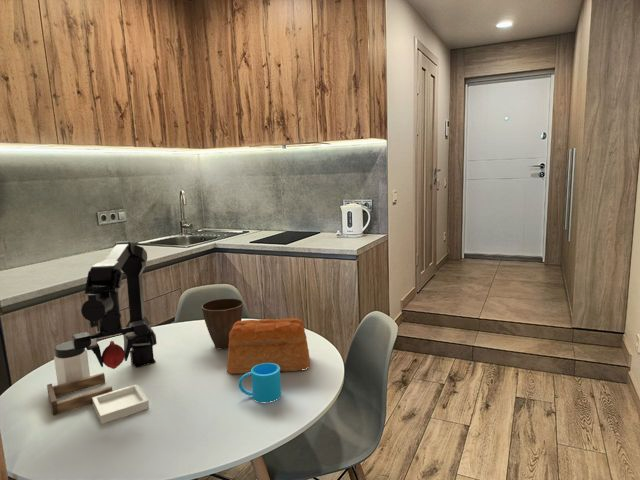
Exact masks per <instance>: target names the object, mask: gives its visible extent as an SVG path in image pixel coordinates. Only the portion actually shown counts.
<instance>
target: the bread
mask: <svg viewBox="0 0 640 480" xmlns="http://www.w3.org/2000/svg"><path fill="white" fill-rule="evenodd" d="M305 330H306V329H305V325H304V323H303V320H302V319H299V318H297V317H295V318H280V319H279V318H277V319H275V318H273V319H271V318H270V319H269V318H262V319H246V320H241V321H237V322H236V323H234V325H233V327H232V330H231V331H230V333H229V349H228V353H227V366H226V372H227V371H228V372H229V373H228V372H227V373H228V374H246V373H249V372H251V369H252V368H253V367H254V366H256V365H258V364H262V363H274V364H277V365H278V366H279V367H280V371H283V372H298V371H297V370H302V369H306V368H307V367H309V366H310V350H309V346H308V341H307V334H306V332H305ZM309 368H310V367H309Z"/></svg>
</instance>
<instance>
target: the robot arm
mask: <svg viewBox="0 0 640 480" xmlns="http://www.w3.org/2000/svg"><path fill="white" fill-rule="evenodd" d="M147 260H148V252H147V251H146V249H144V247H143V246H140V245H137V244H136V243H134V242H133V241H129V240H128V241H124V240H123V241H117V242H115V243H114V246H113V248H112V250H111V251H110V252H109V254H108V255H107V256H106V257H105V259H103V260H102V261H99V262H96V263H95V264H93V265H92V266H91V267H90V269H89V271H88V273H87V277H86V283H85V290H84V294H85V295H87V298H88V299H87V300H86V301H85V302H84V303H83V304H82V306H81V310H80V312H81V314H82V317H83V318H84V319H85V320H87V321H88V324H89V329H91V328H92V329H93V328H96V331H97V333H92V334H90V333H89V332H88V331H84V332H79V333H74V334H72V335H71V341H72V345H73V347H74V349H75V350H79V349H83V348H85V349H86V350H87V351H92V353H93V354H94V355H95V357H96V358H97V361H98V363H99V365H100V367H101V368H104V363H103V360H102V352H101V349H100V348H101V347H100V345H99V344H98V341H101V340H106V339H111V338H115V337H119V336H123V350H124V354H125V357H124V362H127V361H128V358H130V362H131V364H132V365H133V366H134V367H135V368H139V367H143V366H146V365H151V364H154V363H156V360H155V358H154V346H155V345H157V344H158V342H157V335H156V333H155V332H154V329H152V325H151V322H150V321H149V319H148V318H147V317H146V316H145V313H146V311H145V302H144V289H143V272H144V270H145V268H146V266H147ZM123 274H124V275H125V276H126V285H127V286H126V288H127V298H128V310H129V313H128V314H129V320H128V322H127V324H126V326H125V327H122V325H123V324H122V315H121V305H120V296H119V290H120V288H121V285H122V280H123V277H124V275H123Z"/></svg>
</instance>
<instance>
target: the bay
mask: <svg viewBox="0 0 640 480" xmlns="http://www.w3.org/2000/svg"><path fill="white" fill-rule="evenodd" d="M105 376H106V375H105V373H104V372H101V373H97V374H94V375H90V376H89V377H86V378H82V379H78V380H75V381H71V382H67V383H64V384H60V385H58V384H57V385H53V384H52V383H48V384H46V388H47V396H48V400H49V404H50V408H51V412H52V415H53V416H57V415H61V414H63V413H68V412H71V411H73V410H76V409H77V410H78V409H81V408H84V407H87V406H90V405H93V401H92V397H95V396H99V395H102V394H105V393H109V392H112V391H114V389H113V386H107V387H104V388H101V389H97V390H94V391H90V392H87V393H84V394H81V395H76V396H73V397H70V398H67V399H63V400H59V401H58V400H57V398H58V397H62V396H65V395H69V394H73V393H76V392H79V391H83V390H86V389H90V388H92V387H97V386H100V385H104V384H106V377H105Z"/></svg>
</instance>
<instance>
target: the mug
mask: <svg viewBox="0 0 640 480" xmlns="http://www.w3.org/2000/svg"><path fill="white" fill-rule="evenodd" d="M248 376H251V389H252V391H248V390H246V389H245V388H244V387H243V380H245V378H247V377H248ZM281 383H282V381H281V372H280V367H279V366H278V365H277V364H274V363H262V364H258V365H256V366H254V367H253V368H252V369H251V372H249V373H243V375H242V376H241V377H240V378H239V380H238V384H237V385H238V388H239V390H240V392H242V393H243V394H245V395H247V396H250V397H251V396H252V400H256V401H258V402H270V401H274V400H276V399H278V398H279V397H280V396H282V385H281ZM280 398H281V397H280ZM280 398H279V399H280ZM279 399H278V400H279ZM256 401H255V402H256ZM276 401H277V400H276ZM258 402H257V403H258ZM274 402H275V401H274Z"/></svg>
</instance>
